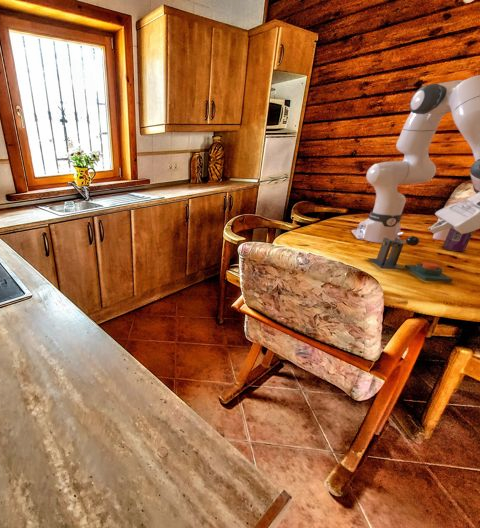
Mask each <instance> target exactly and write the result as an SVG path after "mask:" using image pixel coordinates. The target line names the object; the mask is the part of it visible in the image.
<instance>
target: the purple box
mask: <svg viewBox="0 0 480 528" xmlns="http://www.w3.org/2000/svg"><path fill="white" fill-rule="evenodd" d="M474 232H475V230H474V231H472V232H469V233H465V234H461V233H460V232H458V231H456V230H455V229H453V228H450V230H449V232H448V235H447V237H446V239H445V241H443V244H442V248H443V249H445V250H447V251H451V252H462V251H463V252H464V251H465V250H466V248H467V247H468V244H469V242H470V240H471V238H472V236H473V234H474Z"/></svg>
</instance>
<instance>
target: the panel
mask: <svg viewBox="0 0 480 528" xmlns="http://www.w3.org/2000/svg"><path fill="white" fill-rule="evenodd" d="M422 265H423V263H417V264H405V265H404V267H403V268H404V269H405V270H407V271H408V272H410V273H412V274H413V275H415V276H416V277H418V279H419V278H420V279H421V280H422V281H424V282H438V283H452V281H453V279H454V278H452V277H450V276H448V275H446V274H445V273H443V268H442V267H440V266H438V267H437V270H431V269H426V268H423V267H422Z"/></svg>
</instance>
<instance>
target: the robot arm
mask: <svg viewBox="0 0 480 528" xmlns="http://www.w3.org/2000/svg"><path fill="white" fill-rule="evenodd" d="M409 109H410V113H409V115H408V117H407V119H406V121H405V122H404V124H403V127H402V129H401V132H400V134H399V137H398V138H397V141H396V144H395V147H396V150H397V151H398V152H399V153H401V154H403V159H402V160H395V161H394V160H393V161H391V160H390V161H382V162H377V163H374V164H373V165H371V166H370V167H369V168H368V169H367V172H366V175H365V178H366V181H367V182H368V184H370V185H371V186H372V188H373V189H374V191H375V201H374V205H373V209H372V211H370V212H369V215H368V217H367V218H366V219H365V220H362V221H360V222H359V223H358V224H357V226H356V228H355V229H352V230H351V231H350V232H351V233H352V234H353V236H354V237H355V239H356V240H361V241H367V242H371V243H376V244H382V242H383V239H384V238H388V239H389V240H395V238H399V239H401V238H400V237H399V236H400V235H402V234H403V233H404V232H403V231H402V232H401V229H402V228H401V227H402V224H401V223H400V222H401V220H402V218H403V211H404V208H405V205H406V203H407V198H406V196H405V195H404V194H403V193H401V192H398V186H415V185H419V184H425V183H429V181H432V179H433V178H434V176H436V172H437V166H436V164H435V163H434V162H433V161H432V160H431V159H430V155H429V149H430V146H431V143H432V141H433V138H434V136H435V134H436V132H437V130H438V127H439V125H440V123H441V120H442V118H443V117H444V116H445V115H447V114H449V113H451V116H452V120H453V123H454V125H455V127H456V128H457V130H458V131H459V132H460V134H461V135H462V137H463V138H464V140H465V141H466V143H467V144H468V145H469V147H470V149H471V151H472V155H473V158H474V162H473V163H472V165H470V168H469V175H470V179H471V182H472V189H473V191H474V194H472V195H471V196H468V197H467V198H465V199H464V200H465V201H456V202H454V203H452V204H449V205H447V206H445V207H442V208H440V209H438V210H437V211H435V212H434V215H435V216H436V217H437V218H439V219H440V220H439V221H438V220H437V221H436V222H435V223H434V224H433V225H431V226H428V228H427V230H428V231H429V232H430V233H432V234H433V235H434V234H435V233H437V232H439V231H443V230H447V229H449V228H453V229H455V230H456V231H458V232H460V233H461V234H465V233H469V232H472V231H474V232H475V231H477V230H479V229H480V74H478V75H473V76H470V77H469V78H466V79H458V80H453V81H445V82H440V83H430V84H427V85H424V86H421V87H420V88H419V89H417V90H416V92H414V94H413V95H412V97H411V98H410V102H409Z"/></svg>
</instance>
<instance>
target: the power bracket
mask: <svg viewBox="0 0 480 528" xmlns="http://www.w3.org/2000/svg"><path fill="white" fill-rule="evenodd" d="M399 238H400V237H399ZM399 238H395V241H404V240H403V239H401V238H400V239H399ZM392 242H393V241H391V240H389V239H388V238H384V239H383V242H382V243H380V244H381V245H380V248H379V250H378V254H377V256H376V258H374V257H373V258H369V257H368V260H369V261H370V262H372V263H373V264H374V265H376V266H377V267H378V268H380V269H388V270H389V269H391V270H405V268H404V267H402V266H401V265H399V264H398V261H399V258H400V257H401V256H400V255H401V253H402V251H403V248H404V246H405V244H398V246H397V247H391V245H392Z"/></svg>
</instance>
